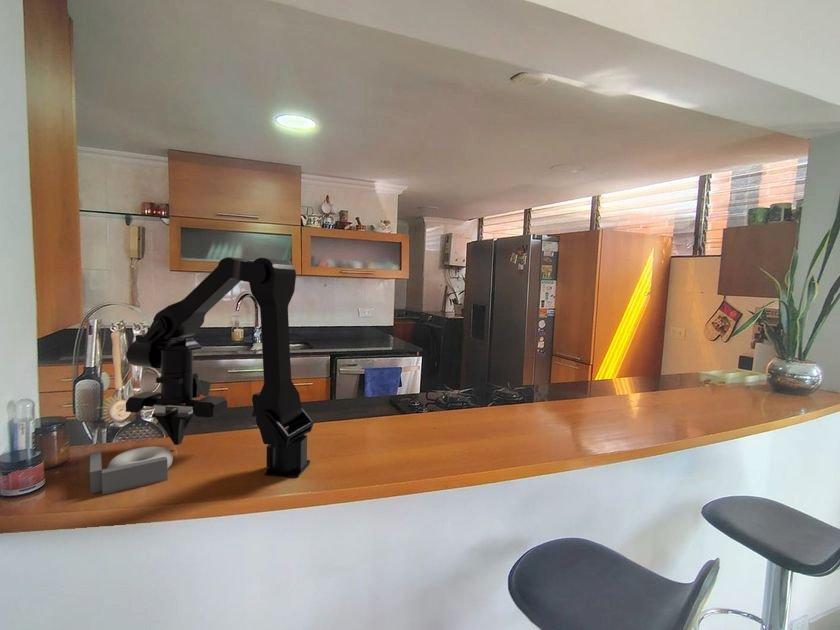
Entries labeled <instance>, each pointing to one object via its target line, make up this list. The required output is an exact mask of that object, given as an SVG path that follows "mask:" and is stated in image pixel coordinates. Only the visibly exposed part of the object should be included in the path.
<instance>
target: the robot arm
mask: <svg viewBox="0 0 840 630" xmlns="http://www.w3.org/2000/svg"><path fill="white" fill-rule="evenodd" d="M296 279H297V272H296V268H295V267H294V265H293V264H291V262H289V261H288V260H285V259H278V258H269V257H268V258H267V257H259V258H256V259H255V260H253V261H252V260H247V259H245V258H239V257H230V256H228V257H226V256H225V257H224V258H222V259H220V260H219V262H218V264H217V266H216V267H214V269H213V270H212V271H211V272H210V273H209V274H208V275H207V276H206V277H204V279H202V281H201V282H200V283H199V284H198V285H197V286H195V287H194V288H193V290H192V291H190V292H189V293H188V294H187V296H185V297H184V298H183V299H181V300H180V301H176V302H174V303H172V304H169V305H167V306H166V307H164V308H163V309H161V310H160V311H158V312H156V314H155V315H154V317H153V321H152V323H151V324H150V325H149V328H148V330H146V331H147V332H146V333H142V334H136V335H135V340H134V341H133V342H131V343H130V345H129V346H128V347H127V351H126V355H125V356H126V360H127V361H128V362H129V364H130V365H132V366H133V367H134V366H135V367H141V368H149V369H160V376H158V377H155V383H156V384H160V391H159V392H158V391H157V392H156V391H143V392H141V393H137V394H135V395H132V396H130V397H128V399H127V400H126V401H125V412H126V413H140V412H141V411H142V410H143V409H144V408H145V407H151V408H154V413H153V414H151V417H152V418H155V419H156V420H157V421H158V423H159V424H160V425H161V427H162V428H163V429H164V431H165V433H166V434H167V435H168V438H170V440H171V442H172V443H173V445H174V446H179V445H181V444H182V443H183V439H184V437H185V434H186V431H187V430H188V426H189V425H190V423H191V421H192V419H193V417H194V416H195V417H197V418H213V417H215V416H217V415H219V414H220V413H222V412H224V411H227V410H228V400H227V399H226V397H225V396H219V395H209V394H210V391H211V385H212V381H208V380H203V379H202V380H201V379H199V375H198V373H197V372H194V351H197V350H201V349H202V345H201V344H200V343H198V342H197V341H196V340H195V338H194V337H192V336H194V335H196V334H197V332H198V331H199V330H200V328H201V327H202V326H203V324H204V323H205V317H206V315H207V313H209V311H210V310H211V309H212V308H214V307H215V306H216V305H217V304H218V303H219V302H220V301H221V300H222V299H223V298H224V297H226V295H228V294H229V293H230V291H231V290H233V289H234V288H235V287H237V285H238V284H239V283H240V282H247V283H249V288H250V293H251V295H252V297H253V298H254V300H255V302H256V303H257V305H258V307H259V312H260V332H261V351H262V352H261V353H262V354H261V355H262V370H263V374H262V375H263V385H262V387H261V389H260V391H258V392H256V393H253V394H252V397H251V400H252V402H251V403H252V409H253V411H252V415H251V416H252V417H254V418H255V419H254V420H255V423H256V426H257V427H258V429H259V433H260V436H261V439H262V443H263V444H264V445H266V449H265V450H266V451H265V453H266V456H265V457H266V464H265V465H266V468H267V469H266V470H265V471H264V474H263V475H264V476H272V477H283V478H294V479H295V478H299V477H300V475H301V474H302V473H304V471H305V470H306V469H307V468H308V466H309V465H310V464H311V460H310V459H308V435H307V434H308V433H311V432H312V429H313V427H314V424H315V423H314V420H312V418H311V417H310V415H309V414H308V413H307V411H305V409H303V406H302V401H301V397H300V393H299V390H298V389H297V388H296V386H295V384H294V383H293V380H292V370H291V368H292V367H291V365H292V364H291V349H290V348H291V346H290V345H291V344H290V327H289V326H290V325H289V304H290V302H291V301H292V300H291V299H292V298H293V297H294V294H295V289H296ZM186 337H187V338H186ZM188 337H189V338H188ZM201 396H203V398H201V399H197V398H200V397H201Z"/></svg>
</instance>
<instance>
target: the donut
mask: <svg viewBox="0 0 840 630" xmlns="http://www.w3.org/2000/svg"><path fill="white" fill-rule="evenodd" d="M161 457H167V470H169V468H170V467H171V466H172V464H173V461H174V454H173V452H171V450H169V449H168V448H166V447H162V446H153V445H151V446H143V447H137V448H136V447H135V448H133V449H130V450H126V451H124V452H121V453H120V454H117V455H116V456H115V457H113V458H112V459H111V460H110V461H109V462H108V465H107V467H106V469H108V468H113V467H118V466H123V465H127V464H132V463H137V462H142V461H147V460H151V459H156V458H161Z"/></svg>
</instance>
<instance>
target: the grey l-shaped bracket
mask: <svg viewBox="0 0 840 630" xmlns="http://www.w3.org/2000/svg"><path fill="white" fill-rule="evenodd" d="M102 464H103V463H102V451H101V450H99V451H94V452H90V453H89V487H90V488H89V489H90V494H94V493H96V494H97V493H99V492H102V495H108V494H111V493H116V492H120V491H125V490H129V489H133V488H138V487H143V486H148V485H152V484H156V483H160V482H165V481H168V475H169V474H168V473H169V472H168V470H169V469H167V457H161V458H156V459H151V460H147V461H142V462H137V463H132V464H127V465H123V466H118V467H113V468H108V469H107V468H103V469H102V467H103V466H102Z"/></svg>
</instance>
